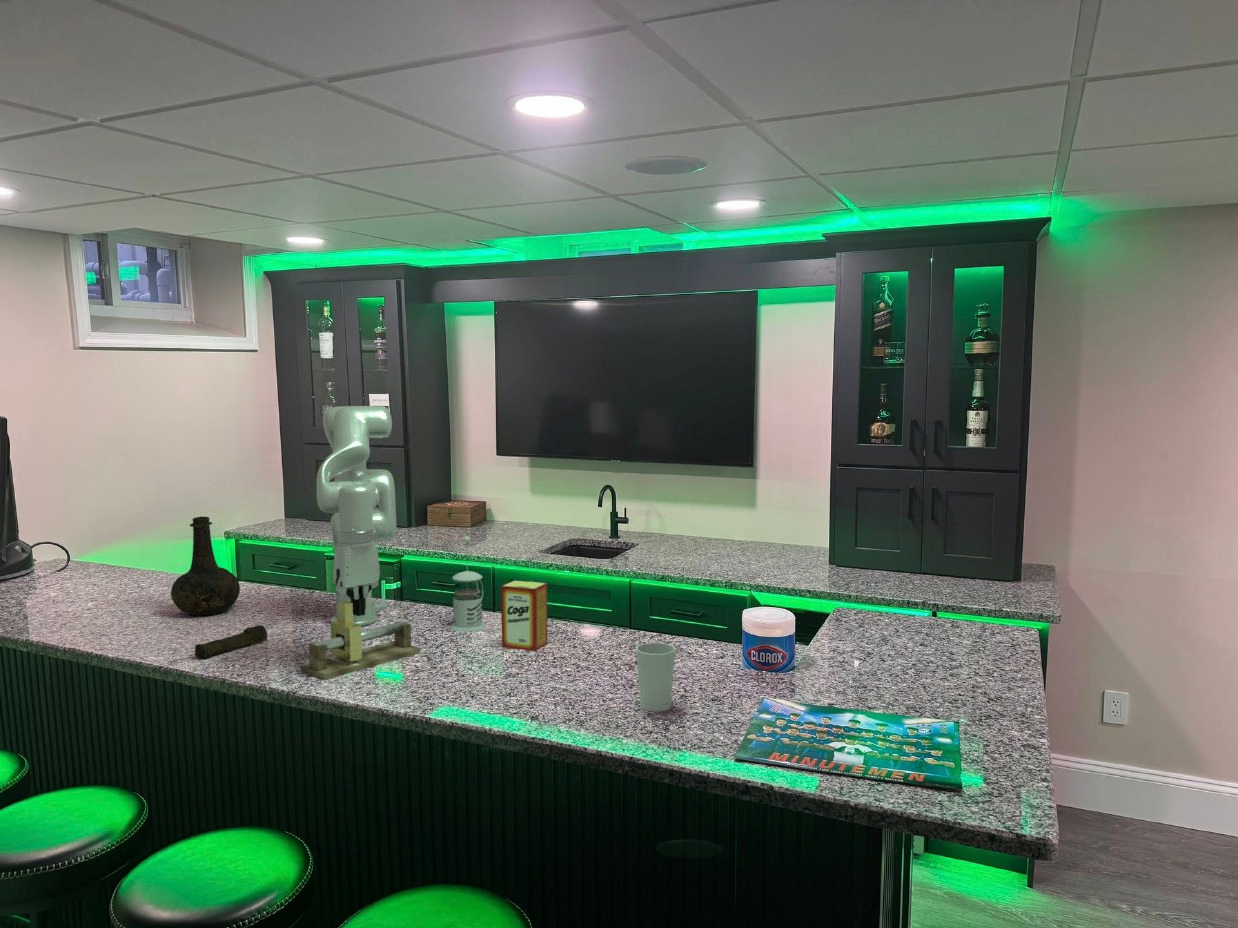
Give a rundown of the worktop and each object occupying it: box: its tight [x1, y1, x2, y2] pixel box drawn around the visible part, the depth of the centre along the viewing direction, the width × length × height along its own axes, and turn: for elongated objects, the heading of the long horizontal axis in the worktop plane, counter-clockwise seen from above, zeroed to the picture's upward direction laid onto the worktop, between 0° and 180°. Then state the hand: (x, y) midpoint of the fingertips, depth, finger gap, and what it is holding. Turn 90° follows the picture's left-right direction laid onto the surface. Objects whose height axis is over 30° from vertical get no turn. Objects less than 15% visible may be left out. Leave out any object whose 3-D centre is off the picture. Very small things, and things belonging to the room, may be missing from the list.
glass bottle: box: [170, 516, 241, 617], centre depth 247 cm, size 18×18×28 cm
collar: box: [330, 601, 363, 662], centre depth 199 cm, size 3×8×13 cm, turn 50°
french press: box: [449, 535, 487, 633], centre depth 233 cm, size 10×12×25 cm
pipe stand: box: [300, 620, 421, 681], centre depth 202 cm, size 26×10×7 cm, turn 140°
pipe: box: [314, 621, 407, 652], centre depth 202 cm, size 24×3×3 cm, turn 140°
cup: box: [635, 642, 676, 713], centre depth 173 cm, size 8×8×12 cm
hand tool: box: [194, 624, 268, 660], centre depth 212 cm, size 19×4×5 cm, turn 147°
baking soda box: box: [500, 580, 548, 652], centre depth 215 cm, size 10×6×16 cm
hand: (358, 614), depth 201 cm, fingers closed
